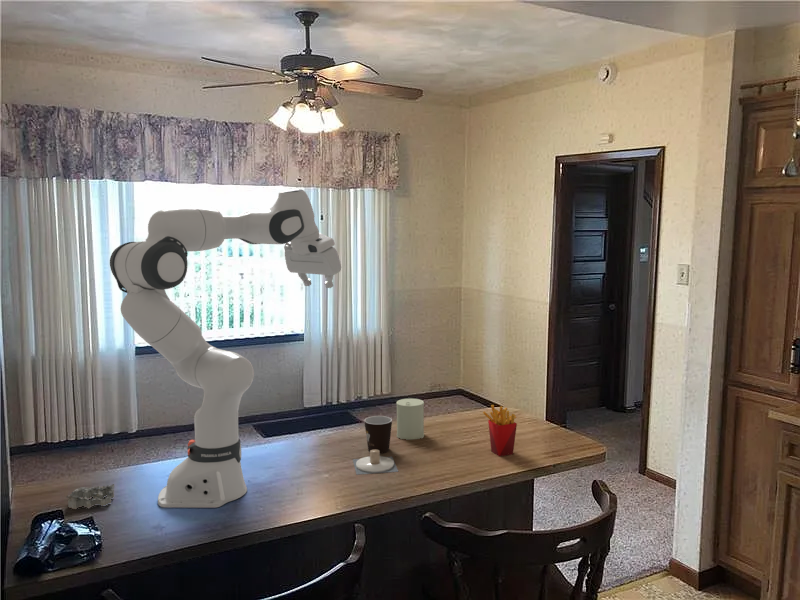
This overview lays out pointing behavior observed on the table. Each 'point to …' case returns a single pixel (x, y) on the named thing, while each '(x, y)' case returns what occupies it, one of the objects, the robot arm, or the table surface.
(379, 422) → the dark brown two-tone container
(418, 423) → the can
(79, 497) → the egg carton
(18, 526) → the table surface
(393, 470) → the mat
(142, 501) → the table surface
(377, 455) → the lid
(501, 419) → the french fries
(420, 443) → the table surface
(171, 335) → the robot arm
